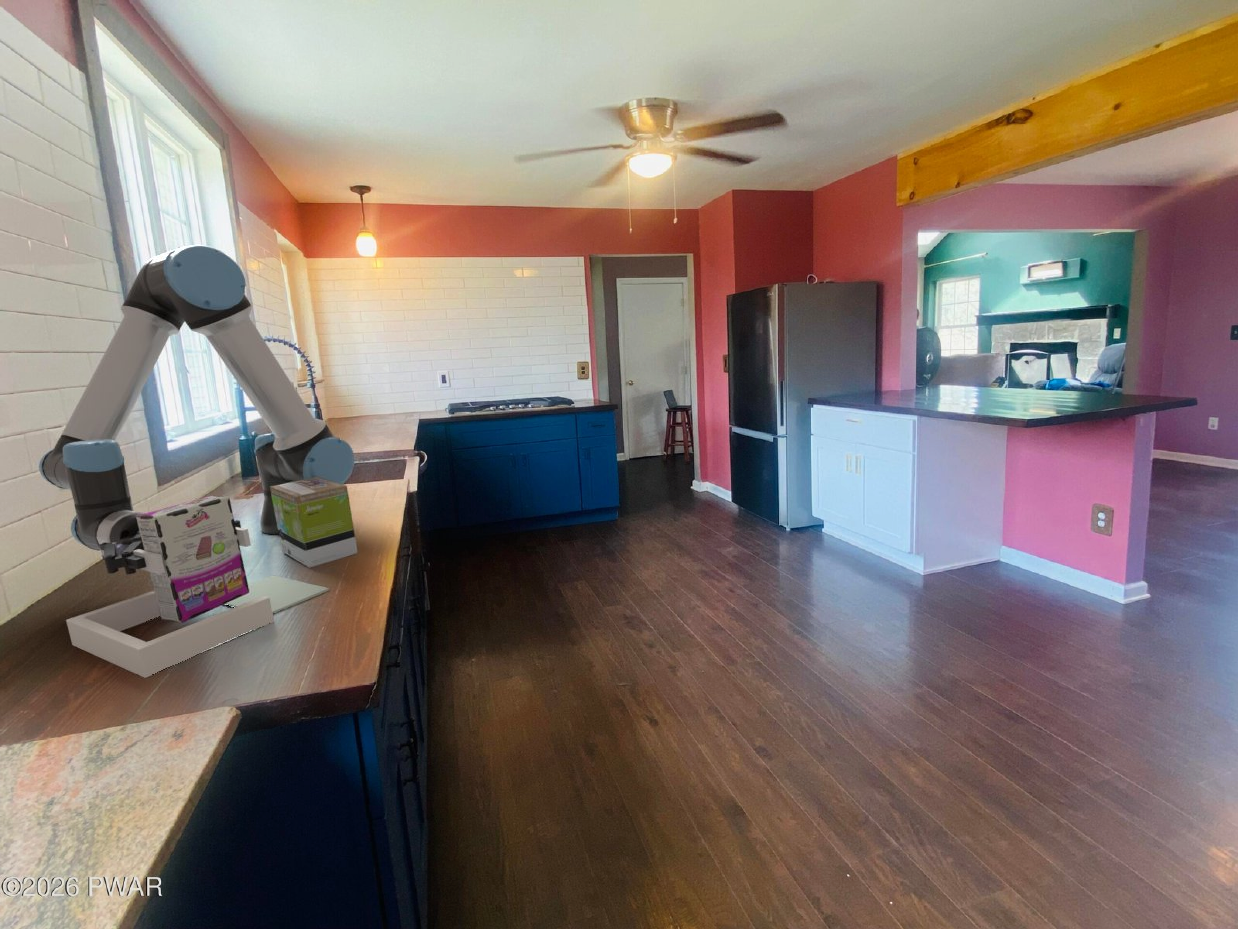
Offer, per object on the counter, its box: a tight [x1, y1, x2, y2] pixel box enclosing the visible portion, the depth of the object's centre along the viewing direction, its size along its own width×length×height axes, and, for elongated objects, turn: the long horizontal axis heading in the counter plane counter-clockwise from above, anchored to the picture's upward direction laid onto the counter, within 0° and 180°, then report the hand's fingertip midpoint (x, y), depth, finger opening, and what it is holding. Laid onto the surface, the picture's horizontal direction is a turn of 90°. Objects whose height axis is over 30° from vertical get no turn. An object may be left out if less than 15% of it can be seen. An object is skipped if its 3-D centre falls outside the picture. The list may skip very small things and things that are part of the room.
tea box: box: [270, 477, 358, 569], centre depth 121 cm, size 15×10×15 cm
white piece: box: [65, 590, 275, 679], centre depth 89 cm, size 17×22×4 cm
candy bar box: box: [136, 495, 249, 624], centre depth 91 cm, size 11×5×16 cm, turn 159°
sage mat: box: [226, 575, 330, 614], centre depth 102 cm, size 11×16×1 cm
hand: (206, 550), depth 89 cm, fingers closed on candy bar box, 11 cm apart
